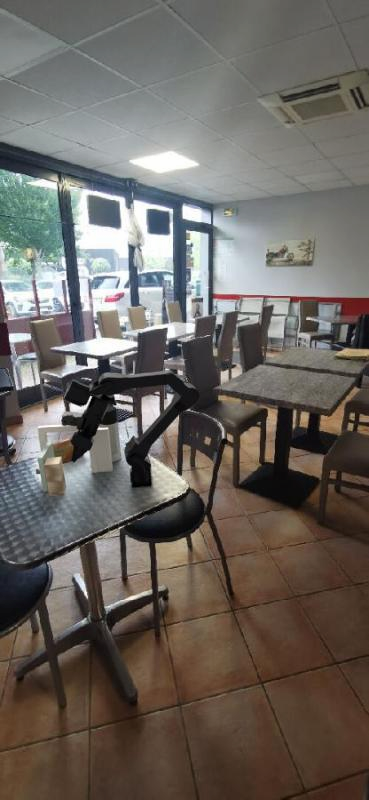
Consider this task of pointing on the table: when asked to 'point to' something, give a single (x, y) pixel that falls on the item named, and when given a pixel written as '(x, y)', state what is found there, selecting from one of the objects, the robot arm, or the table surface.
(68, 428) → the wall frame
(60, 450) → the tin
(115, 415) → the spray can
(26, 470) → the table surface
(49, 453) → the door
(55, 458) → the block
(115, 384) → the robot arm
